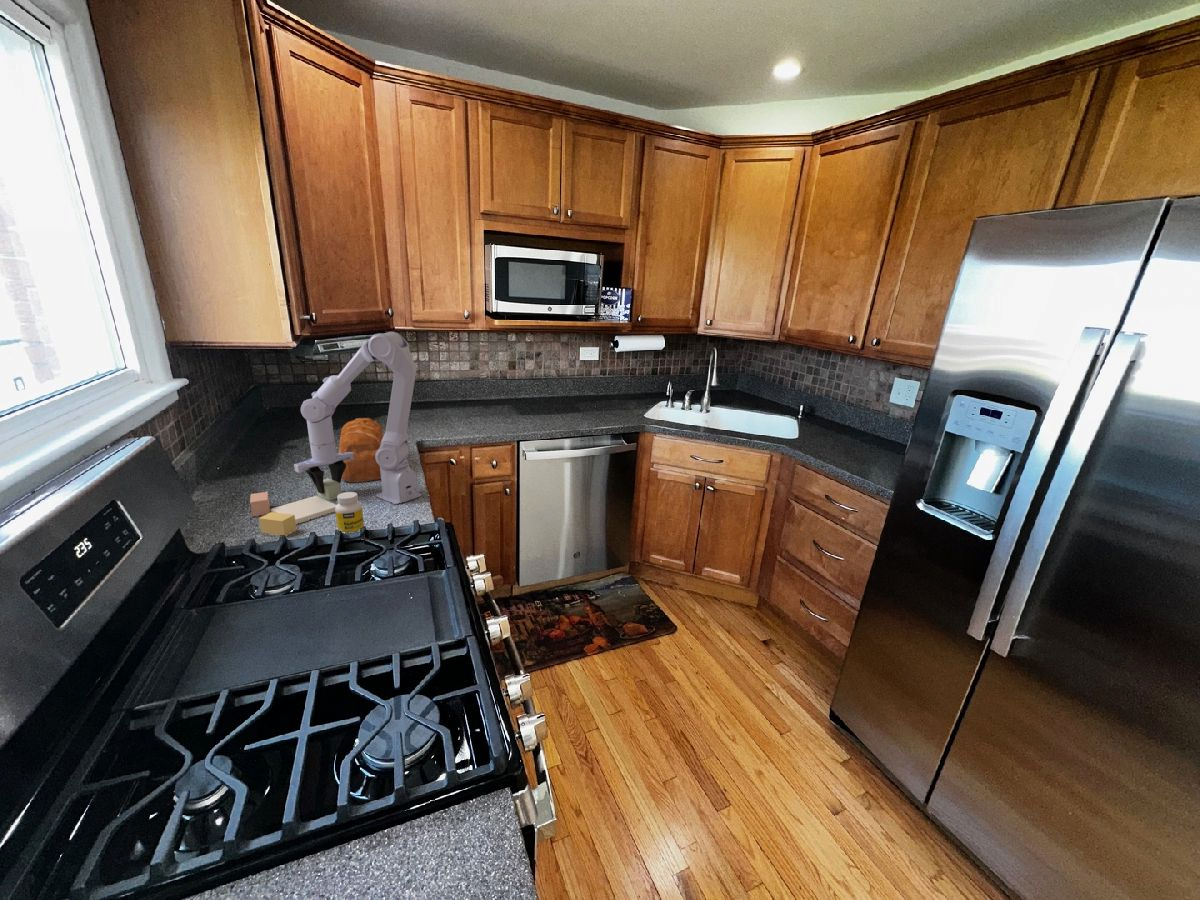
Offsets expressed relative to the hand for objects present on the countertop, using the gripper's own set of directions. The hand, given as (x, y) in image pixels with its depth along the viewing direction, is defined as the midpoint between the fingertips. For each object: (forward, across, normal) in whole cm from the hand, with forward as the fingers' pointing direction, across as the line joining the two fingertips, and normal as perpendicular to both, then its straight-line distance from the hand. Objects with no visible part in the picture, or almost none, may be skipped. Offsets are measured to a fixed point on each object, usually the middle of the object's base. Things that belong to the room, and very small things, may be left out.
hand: (329, 490), depth 128 cm
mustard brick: (+2, +18, +12) cm, 22 cm away
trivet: (+2, +9, +6) cm, 11 cm away
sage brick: (+2, 0, 0) cm, 2 cm away
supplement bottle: (+2, +9, +26) cm, 28 cm away
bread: (+2, -19, -14) cm, 23 cm away
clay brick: (+2, +15, -3) cm, 16 cm away
